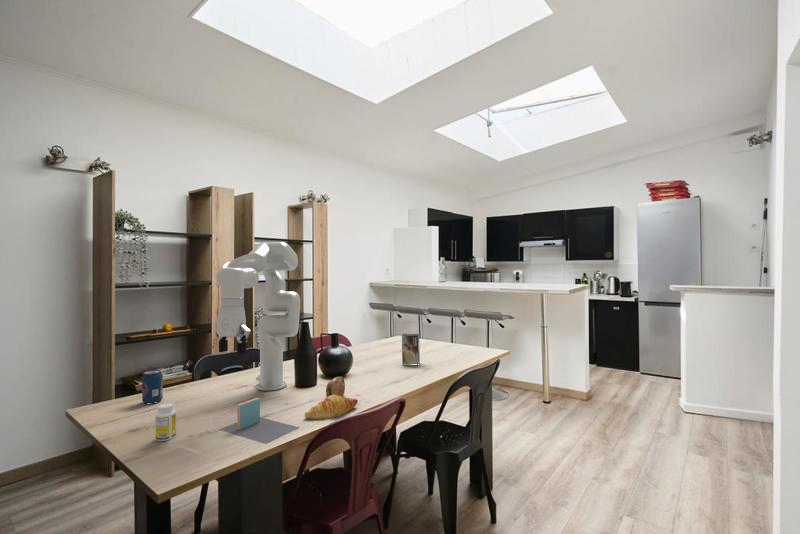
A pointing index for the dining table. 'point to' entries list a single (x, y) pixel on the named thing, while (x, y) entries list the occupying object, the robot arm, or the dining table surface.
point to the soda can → (152, 386)
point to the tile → (248, 413)
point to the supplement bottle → (165, 422)
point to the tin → (336, 387)
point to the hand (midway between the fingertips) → (232, 353)
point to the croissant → (331, 407)
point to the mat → (262, 430)
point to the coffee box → (410, 349)
